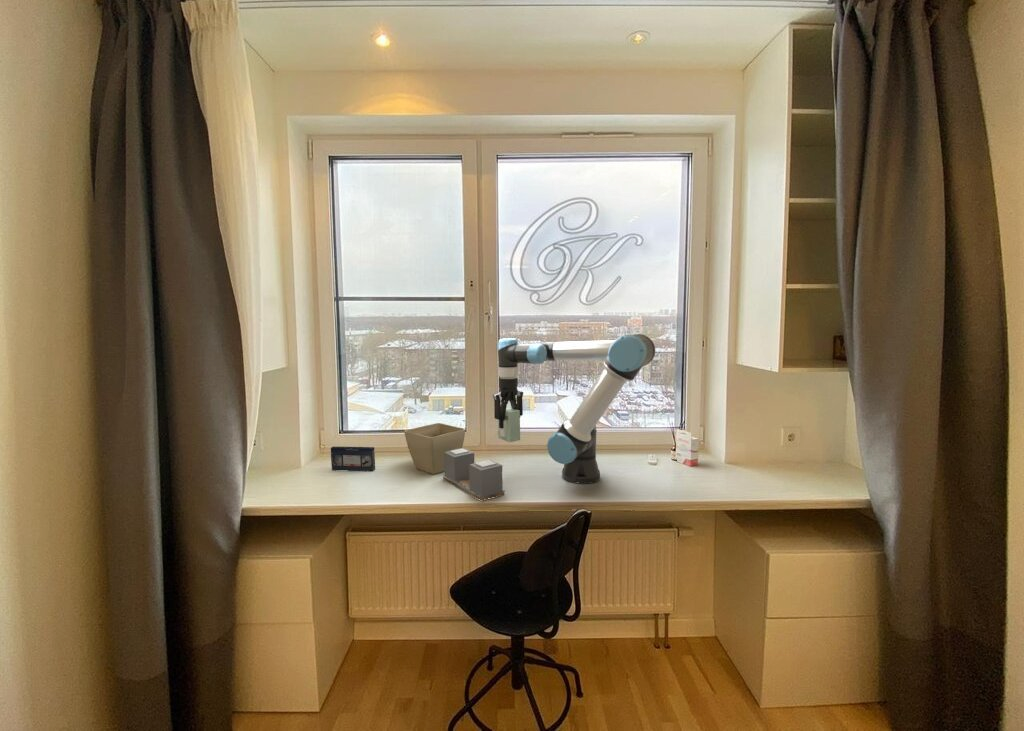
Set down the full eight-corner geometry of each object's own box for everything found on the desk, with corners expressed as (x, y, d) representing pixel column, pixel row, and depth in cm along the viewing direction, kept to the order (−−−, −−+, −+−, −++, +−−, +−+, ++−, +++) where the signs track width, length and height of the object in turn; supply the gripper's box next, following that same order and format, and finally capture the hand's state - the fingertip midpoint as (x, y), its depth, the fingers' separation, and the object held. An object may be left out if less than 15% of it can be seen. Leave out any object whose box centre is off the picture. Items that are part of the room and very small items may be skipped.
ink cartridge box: (698, 465, 195) (699, 431, 193) (690, 466, 192) (691, 433, 191) (682, 459, 202) (683, 427, 201) (674, 461, 200) (675, 428, 198)
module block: (508, 436, 186) (508, 407, 185) (520, 440, 180) (519, 410, 178) (498, 438, 183) (497, 409, 182) (509, 442, 177) (509, 412, 175)
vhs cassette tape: (331, 470, 191) (330, 447, 190) (334, 468, 194) (333, 445, 193) (372, 472, 189) (371, 448, 187) (375, 469, 191) (374, 446, 190)
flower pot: (404, 468, 193) (403, 430, 191) (439, 458, 207) (438, 422, 205) (431, 479, 180) (430, 437, 178) (467, 467, 194) (466, 428, 192)
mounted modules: (464, 471, 185) (463, 446, 184) (502, 491, 163) (502, 463, 162) (444, 476, 179) (444, 450, 178) (481, 497, 158) (481, 468, 157)
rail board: (464, 473, 186) (464, 469, 185) (504, 494, 163) (504, 490, 163) (443, 478, 180) (443, 475, 179) (481, 501, 157) (481, 497, 157)
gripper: (520, 374, 187) (521, 429, 189) (484, 378, 176) (485, 436, 179) (531, 376, 181) (532, 433, 183) (494, 380, 170) (496, 440, 173)
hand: (509, 434), depth 181 cm, fingers closed on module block, 5 cm apart
